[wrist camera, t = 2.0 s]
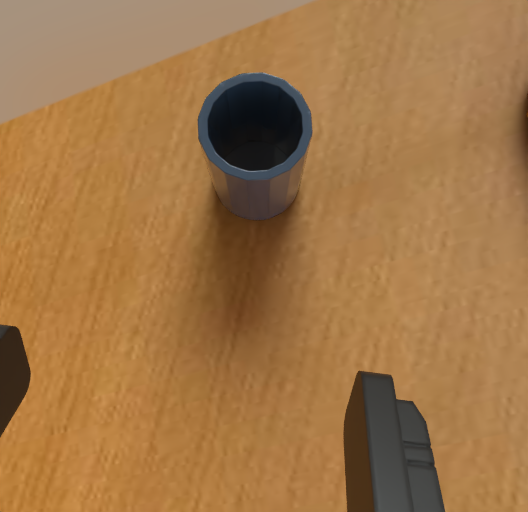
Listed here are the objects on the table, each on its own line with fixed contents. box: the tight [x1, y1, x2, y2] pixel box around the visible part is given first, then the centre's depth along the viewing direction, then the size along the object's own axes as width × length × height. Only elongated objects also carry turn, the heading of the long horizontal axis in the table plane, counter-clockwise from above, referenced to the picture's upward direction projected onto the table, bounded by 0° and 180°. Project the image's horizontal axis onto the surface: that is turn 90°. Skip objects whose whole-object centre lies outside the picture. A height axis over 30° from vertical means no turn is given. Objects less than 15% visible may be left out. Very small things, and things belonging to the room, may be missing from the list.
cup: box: [198, 73, 312, 220], centre depth 29 cm, size 6×6×8 cm
